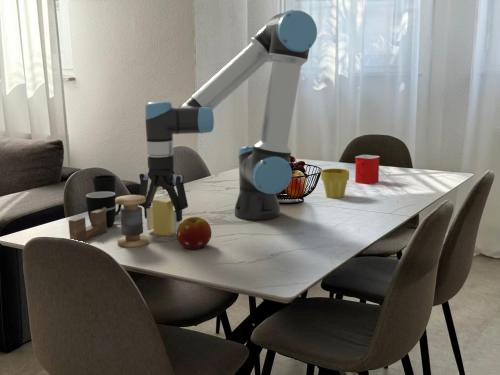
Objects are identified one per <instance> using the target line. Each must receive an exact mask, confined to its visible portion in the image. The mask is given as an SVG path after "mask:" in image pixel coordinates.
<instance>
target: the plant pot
mask: <svg viewBox="0 0 500 375" xmlns="http://www.w3.org/2000/svg"><path fill="white" fill-rule="evenodd" d="M320 179H321V180H322V183H323V187H324V191H325V196H326V198H331V199H341V198H344V196H345V194H346V189H347V183H348V181H349V179H350V170H348V169H346V168H335V167H334V168H326V169H322V170H321V171H320Z"/></svg>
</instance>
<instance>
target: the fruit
mask: <svg viewBox="0 0 500 375" xmlns="http://www.w3.org/2000/svg"><path fill="white" fill-rule="evenodd" d="M211 238H212V228H211V226H210V223H209V222H208V221H207V220H206V219H205V218H203V217H199V216H192V217H188V218H187V217H186V218H185V219H183V220H182V221H180V225H179V227H178V229H177V233H176V239H177V243H179V245H181V246H182V247H185V248H188V249H193V250H195V249H202V248H204V247H205V246H207V245H208V244H209V242H210V240H211Z"/></svg>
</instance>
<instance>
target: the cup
mask: <svg viewBox="0 0 500 375" xmlns="http://www.w3.org/2000/svg"><path fill="white" fill-rule="evenodd" d="M116 178H117V177H116V176H115V175H113V174H102V175H100V174H99V175H96V176H93V177H92V182H93V189H94V192H114V193H115V194H116Z"/></svg>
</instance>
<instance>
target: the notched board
mask: <svg viewBox="0 0 500 375" xmlns="http://www.w3.org/2000/svg"><path fill="white" fill-rule="evenodd" d="M90 216H91V223H90V225H89V226H87V224H86V217H85V216H76V217H73V218H71V219H69V220H68V229H69V230H68V231H69V240H70V239H74V240H78V241H83V243H85V242H88V241H91V240H93V239H94V238H97V237H99V236H101V235H104V234H106V233H108V228H107V222H106V210H105V209H98V210H95V211H92V212H90Z"/></svg>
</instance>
